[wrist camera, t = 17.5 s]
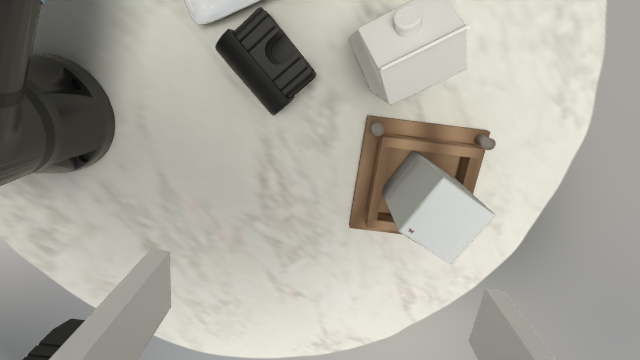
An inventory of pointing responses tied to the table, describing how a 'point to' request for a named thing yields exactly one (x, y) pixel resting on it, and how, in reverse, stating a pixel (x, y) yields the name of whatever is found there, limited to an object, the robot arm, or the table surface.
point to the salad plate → (214, 9)
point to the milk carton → (411, 48)
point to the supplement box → (434, 207)
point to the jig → (392, 149)
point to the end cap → (266, 60)
